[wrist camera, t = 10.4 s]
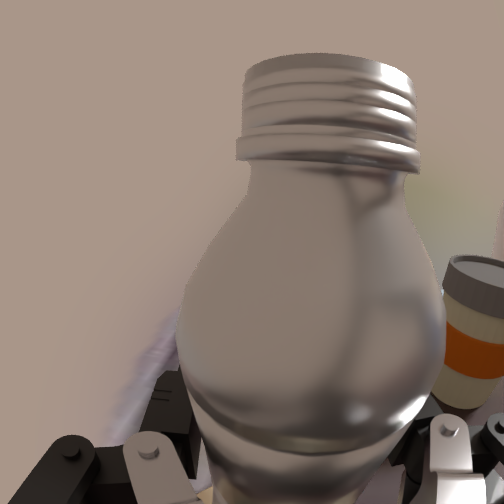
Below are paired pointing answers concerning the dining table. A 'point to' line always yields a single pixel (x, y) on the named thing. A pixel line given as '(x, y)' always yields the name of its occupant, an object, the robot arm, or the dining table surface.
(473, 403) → the reusable coffee cup
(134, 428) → the dining table surface
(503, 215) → the bottle
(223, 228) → the plastic bottle
